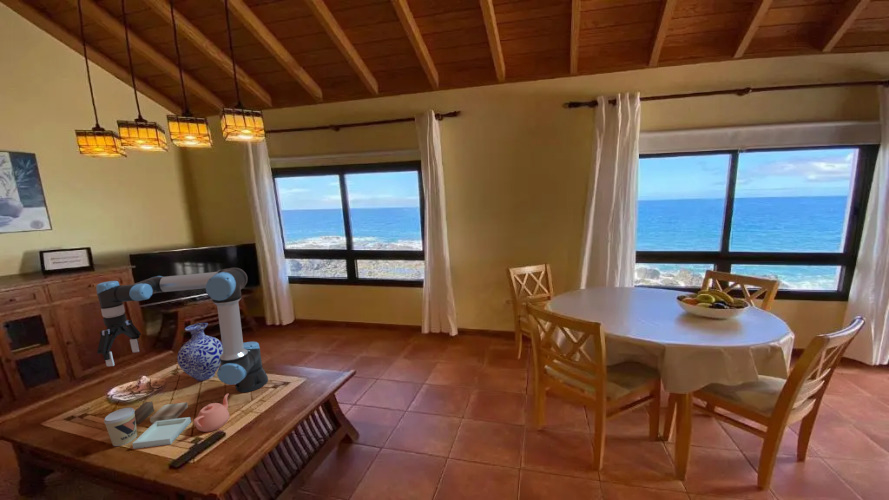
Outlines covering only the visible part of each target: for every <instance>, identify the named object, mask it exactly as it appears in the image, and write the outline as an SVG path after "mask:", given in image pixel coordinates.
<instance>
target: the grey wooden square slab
mask: <svg viewBox="0 0 889 500" xmlns="http://www.w3.org/2000/svg"><path fill="white" fill-rule="evenodd" d="M188 408H189V406H188V402H185V401H184V402H177V403H169V404H168V403H167V404H164V405H163V406H161V407H160V408H159V409H158V410H157V411H156V412H155V413H154V414H153V415H151V416H149V421H150V423H151V424H154V423H155V422H156V421H161V420H169V419H178V418H180V416H181V415H182V414H183V413H184V412H185V411H186V409H188Z"/></svg>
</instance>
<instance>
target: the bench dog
mask: <svg viewBox="0 0 889 500" xmlns="http://www.w3.org/2000/svg"><path fill="white" fill-rule="evenodd" d="M134 410H135V412H134V413H135V420H136V426H137V425H140V424H142V422H143V421H145V420H146V419H147V418H148V417H150V415H151V414H152V413H153V412H154V411H155V408H154V404H153V401H145V402H143V403H142V404H141V405H139V407H137V408H136V409H134Z"/></svg>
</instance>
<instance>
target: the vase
mask: <svg viewBox="0 0 889 500" xmlns="http://www.w3.org/2000/svg"><path fill="white" fill-rule="evenodd" d="M208 325H209V323H208V322H199V323H195V324H191V325H188V326H185V328H184V330H185V331H186V332H188V333H189V332H190V335H191V338H190V339H189V340H188V341H185V343H184V344H183V345H182V346H181V347H180V349H178V353H177V364H178V366H179V368H180V369H181V370H182V372H184V373H186V374H187V375H188V376H190V377H191V378H193V379H195V380H196V381H199V382H203V381H206V380H209V379H211V378H213V377H214V376H216V375H215V374H216V373H217V372H218V369H219V367H220V366H221V362H220V356H221V355H222V354H223V347H222V341H221V340H219V339H218V338H216V337H214V336H210V335H206V334H205V329H206V328H207V327H208Z"/></svg>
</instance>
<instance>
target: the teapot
mask: <svg viewBox="0 0 889 500" xmlns="http://www.w3.org/2000/svg"><path fill="white" fill-rule="evenodd" d="M229 394H230V393H226V394H225V395H224V397H223V400H222V403H218V402H213V403H212V402H211V403H208V404H207V405H205V406H204V407H202V409H200V410H199V412H198V414H197V416H196V417H195V418H194V419H193V421H192V422H193V425H195V427H196V429H197V430H198V431H200V432H204V433H208V432H213V431H216V430H218V429H220V428H222V427H223V426H224V425H225V424H226V423H227V422H228V421H229V420H230V413H229V410H228V409H229V402H228V396H229Z"/></svg>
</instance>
